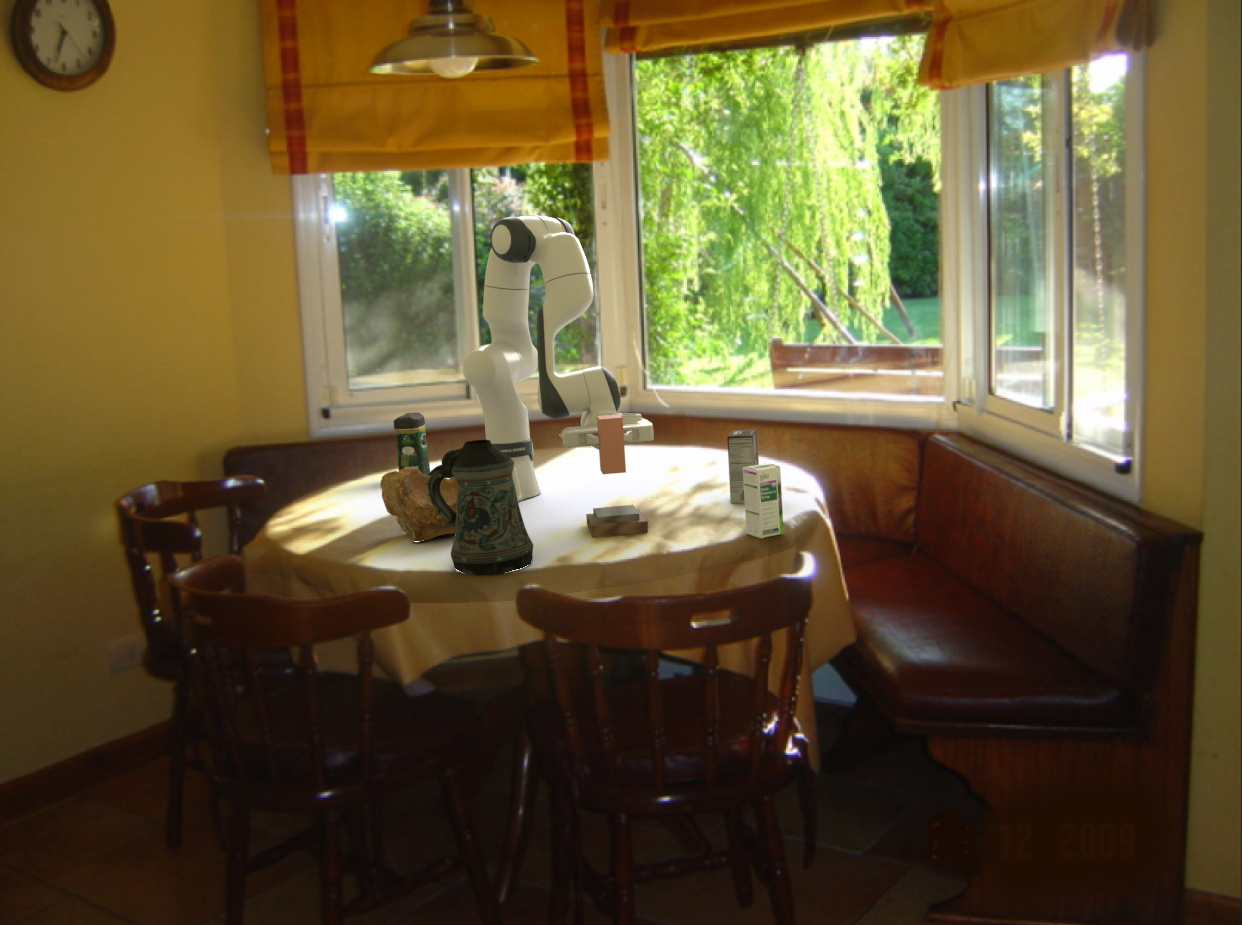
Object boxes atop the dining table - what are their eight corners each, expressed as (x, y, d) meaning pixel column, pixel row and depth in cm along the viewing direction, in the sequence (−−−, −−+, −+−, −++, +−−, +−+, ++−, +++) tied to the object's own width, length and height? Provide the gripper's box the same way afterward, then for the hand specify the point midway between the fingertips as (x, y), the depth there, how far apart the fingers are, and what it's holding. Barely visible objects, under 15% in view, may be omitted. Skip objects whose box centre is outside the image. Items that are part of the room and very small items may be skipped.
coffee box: (734, 495, 287) (731, 429, 284) (760, 494, 285) (757, 428, 282) (729, 503, 278) (726, 435, 275) (757, 503, 277) (754, 435, 274)
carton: (603, 474, 256) (599, 419, 253) (600, 470, 261) (596, 416, 258) (626, 472, 256) (622, 417, 254) (623, 468, 261) (619, 414, 259)
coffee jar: (407, 475, 338) (400, 411, 335) (433, 475, 337) (427, 410, 334) (395, 483, 329) (388, 416, 325) (422, 482, 328) (416, 415, 324)
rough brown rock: (374, 552, 257) (368, 486, 253) (387, 528, 273) (382, 465, 269) (482, 549, 257) (478, 482, 253) (488, 524, 273) (485, 462, 269)
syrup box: (761, 539, 244) (758, 469, 242) (745, 533, 249) (742, 465, 247) (784, 534, 247) (781, 465, 244) (767, 529, 252) (765, 462, 249)
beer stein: (542, 569, 232) (532, 443, 228) (443, 583, 227) (431, 454, 222) (524, 549, 248) (515, 431, 243) (431, 562, 243) (420, 441, 238)
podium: (592, 537, 254) (591, 519, 253) (586, 524, 266) (585, 507, 265) (648, 532, 256) (646, 514, 255) (639, 520, 267) (638, 502, 267)
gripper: (557, 420, 268) (562, 429, 255) (647, 413, 270) (656, 421, 257) (559, 447, 269) (564, 458, 256) (648, 440, 272) (658, 450, 258)
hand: (611, 440), depth 256 cm, fingers closed on carton, 5 cm apart
